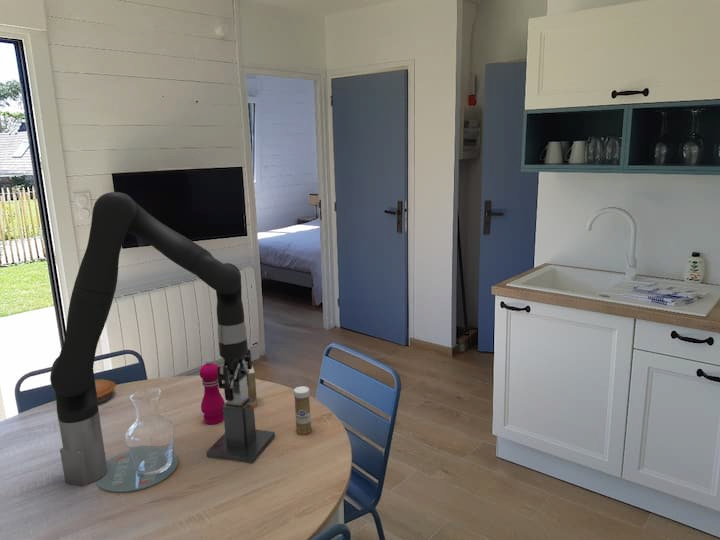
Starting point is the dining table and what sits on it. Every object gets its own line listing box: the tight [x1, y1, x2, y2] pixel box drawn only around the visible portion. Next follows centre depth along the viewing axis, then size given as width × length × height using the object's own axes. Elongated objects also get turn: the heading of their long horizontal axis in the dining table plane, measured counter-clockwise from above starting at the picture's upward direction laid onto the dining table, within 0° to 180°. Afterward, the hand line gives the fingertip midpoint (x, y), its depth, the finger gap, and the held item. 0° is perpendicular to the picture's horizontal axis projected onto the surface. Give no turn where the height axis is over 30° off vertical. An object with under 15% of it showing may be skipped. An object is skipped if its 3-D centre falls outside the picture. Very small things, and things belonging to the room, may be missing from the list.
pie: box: [95, 379, 117, 405], centre depth 185 cm, size 15×16×5 cm
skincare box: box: [248, 365, 258, 408], centre depth 177 cm, size 6×4×12 cm
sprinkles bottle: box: [293, 386, 312, 435], centre depth 159 cm, size 5×5×14 cm
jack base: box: [205, 398, 276, 464], centre depth 152 cm, size 14×14×14 cm
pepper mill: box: [199, 358, 226, 425], centre depth 167 cm, size 7×7×20 cm
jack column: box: [226, 372, 249, 408], centre depth 151 cm, size 4×4×20 cm
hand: (237, 393), depth 150 cm, fingers open, 8 cm apart
